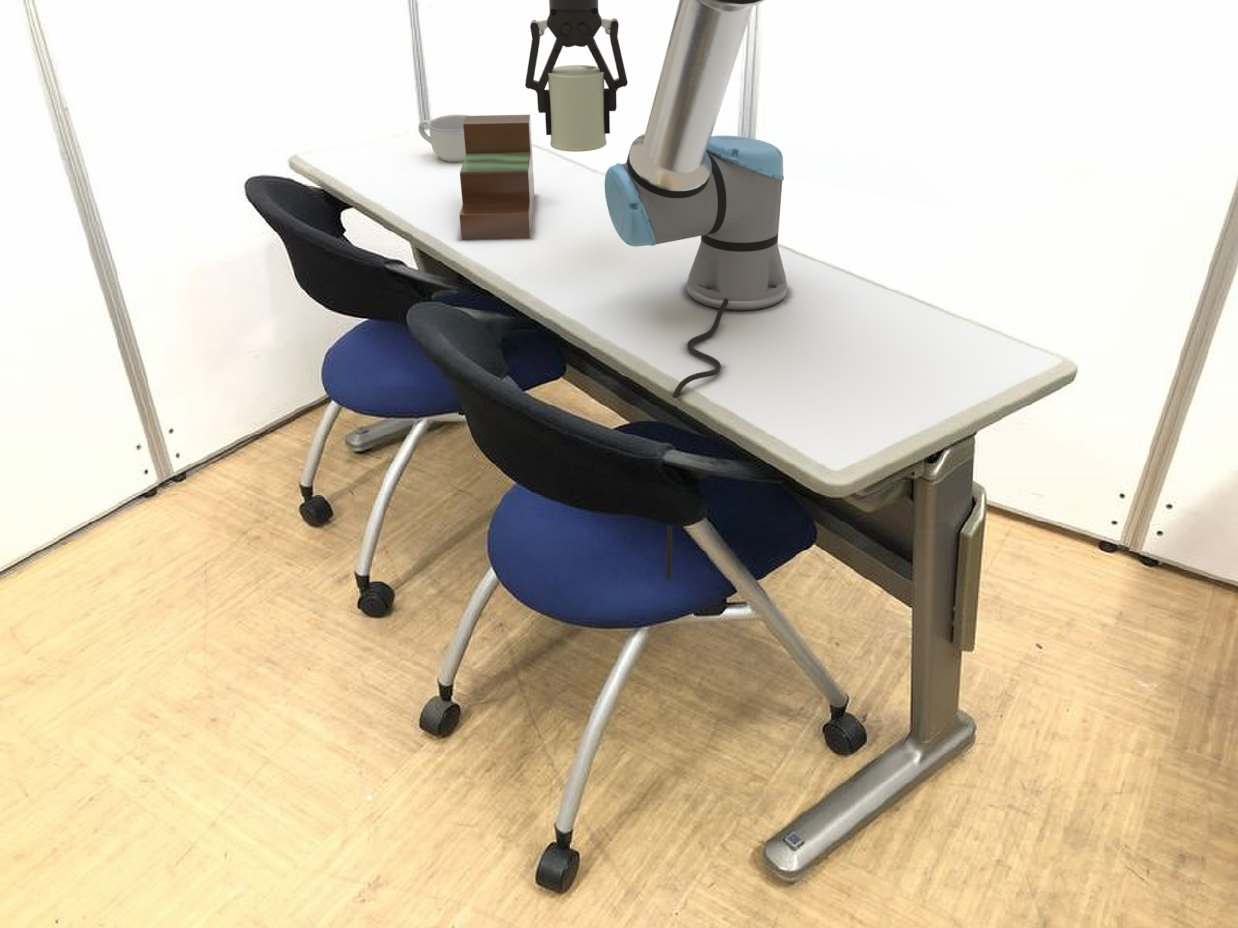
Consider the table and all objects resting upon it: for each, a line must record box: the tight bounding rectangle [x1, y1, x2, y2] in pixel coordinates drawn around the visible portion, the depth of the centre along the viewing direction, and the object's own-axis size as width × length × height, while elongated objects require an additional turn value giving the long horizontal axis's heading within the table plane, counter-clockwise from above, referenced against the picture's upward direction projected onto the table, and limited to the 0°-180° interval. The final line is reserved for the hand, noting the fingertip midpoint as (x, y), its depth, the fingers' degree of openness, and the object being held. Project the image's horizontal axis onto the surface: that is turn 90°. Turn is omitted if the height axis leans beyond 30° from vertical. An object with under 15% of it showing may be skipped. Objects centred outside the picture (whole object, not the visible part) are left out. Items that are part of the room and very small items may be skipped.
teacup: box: [418, 114, 470, 163], centre depth 225 cm, size 14×11×8 cm
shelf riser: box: [459, 114, 535, 241], centre depth 190 cm, size 24×12×16 cm, turn 2°
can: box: [547, 64, 608, 153], centre depth 168 cm, size 9×9×12 cm
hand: (578, 132), depth 170 cm, fingers closed on can, 9 cm apart
